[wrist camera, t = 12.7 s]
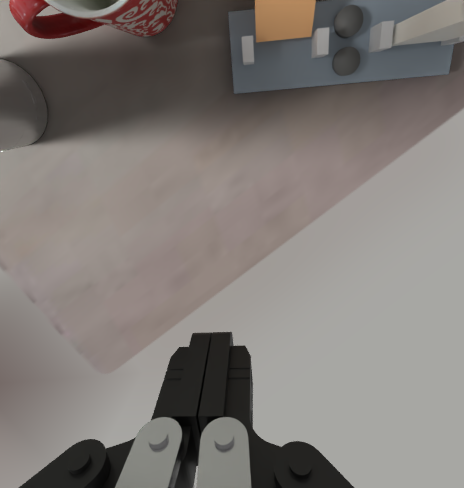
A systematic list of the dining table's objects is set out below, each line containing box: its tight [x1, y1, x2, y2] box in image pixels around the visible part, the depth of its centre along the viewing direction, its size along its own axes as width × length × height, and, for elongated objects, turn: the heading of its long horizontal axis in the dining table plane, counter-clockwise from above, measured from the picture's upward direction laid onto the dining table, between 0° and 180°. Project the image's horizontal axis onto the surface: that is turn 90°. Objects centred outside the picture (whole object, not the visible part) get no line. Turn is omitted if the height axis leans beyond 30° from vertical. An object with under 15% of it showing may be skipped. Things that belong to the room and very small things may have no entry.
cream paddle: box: [392, 0, 464, 46], centre depth 23 cm, size 5×2×13 cm, turn 95°
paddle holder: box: [228, 0, 464, 94], centre depth 30 cm, size 21×7×5 cm, turn 95°
